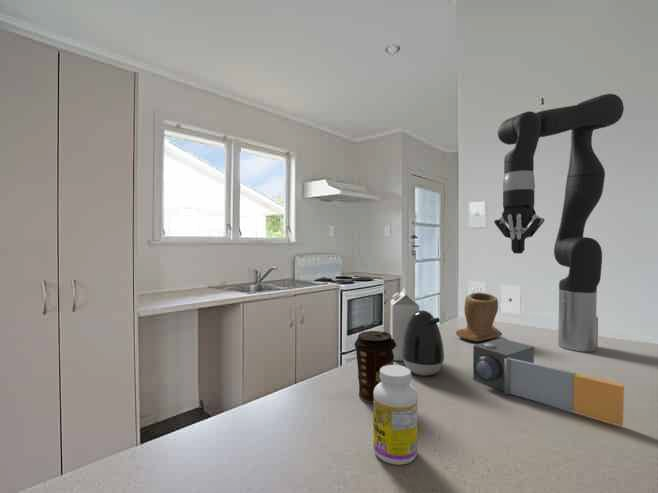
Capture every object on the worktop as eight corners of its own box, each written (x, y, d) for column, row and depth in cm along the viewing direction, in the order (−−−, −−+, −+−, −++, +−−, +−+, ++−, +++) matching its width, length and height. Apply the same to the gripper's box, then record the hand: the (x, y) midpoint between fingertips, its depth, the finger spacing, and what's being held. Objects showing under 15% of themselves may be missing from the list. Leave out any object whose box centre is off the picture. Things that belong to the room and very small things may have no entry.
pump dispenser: (421, 383, 78) (422, 317, 78) (393, 368, 88) (393, 308, 87) (454, 375, 83) (454, 312, 83) (423, 361, 92) (424, 305, 92)
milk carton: (415, 353, 99) (415, 287, 99) (419, 361, 92) (419, 291, 92) (390, 352, 100) (390, 286, 100) (392, 361, 93) (392, 290, 93)
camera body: (500, 369, 87) (500, 336, 86) (533, 381, 80) (534, 344, 80) (465, 382, 79) (466, 345, 79) (498, 395, 72) (499, 355, 72)
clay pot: (480, 347, 105) (480, 297, 105) (450, 337, 115) (450, 292, 115) (513, 340, 112) (513, 294, 111) (482, 331, 122) (482, 289, 122)
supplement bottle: (369, 441, 56) (369, 362, 56) (409, 439, 57) (409, 361, 56) (378, 468, 49) (378, 379, 49) (423, 466, 50) (424, 378, 50)
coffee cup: (399, 391, 74) (399, 331, 74) (393, 409, 66) (393, 342, 66) (359, 386, 77) (359, 328, 77) (349, 402, 69) (349, 338, 69)
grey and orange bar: (623, 424, 60) (624, 383, 60) (622, 427, 59) (623, 386, 59) (506, 390, 74) (506, 357, 74) (503, 393, 73) (503, 359, 72)
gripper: (487, 191, 98) (487, 253, 98) (536, 185, 86) (536, 254, 87) (502, 193, 102) (502, 252, 102) (551, 187, 90) (550, 253, 91)
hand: (518, 253), depth 94 cm, fingers closed
